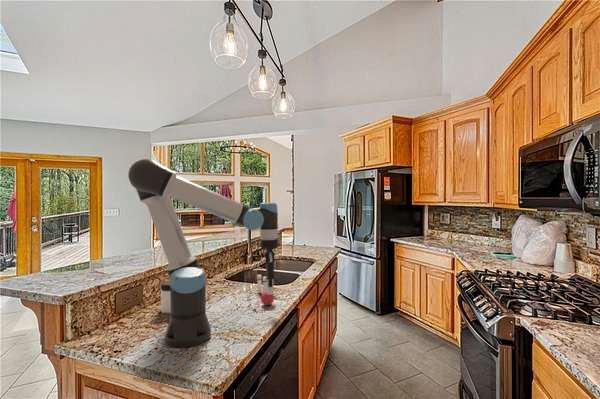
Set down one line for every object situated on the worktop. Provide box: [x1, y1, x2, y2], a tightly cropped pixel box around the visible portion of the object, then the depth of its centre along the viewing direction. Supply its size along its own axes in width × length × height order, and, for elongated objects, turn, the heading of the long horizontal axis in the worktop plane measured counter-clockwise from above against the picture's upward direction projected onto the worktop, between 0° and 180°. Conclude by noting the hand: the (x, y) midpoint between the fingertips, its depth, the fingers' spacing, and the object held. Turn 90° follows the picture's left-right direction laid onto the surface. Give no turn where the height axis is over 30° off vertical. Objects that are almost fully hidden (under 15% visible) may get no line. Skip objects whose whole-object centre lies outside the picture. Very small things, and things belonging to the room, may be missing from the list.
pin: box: [256, 274, 262, 294], centre depth 160 cm, size 2×2×9 cm
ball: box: [260, 292, 275, 306], centre depth 141 cm, size 6×6×6 cm
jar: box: [160, 280, 171, 314], centre depth 135 cm, size 9×8×12 cm
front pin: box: [262, 276, 267, 294], centre depth 156 cm, size 2×2×9 cm
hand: (270, 293), depth 132 cm, fingers closed
